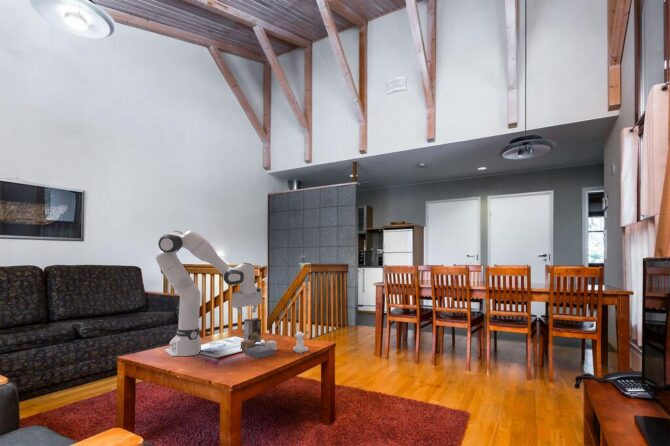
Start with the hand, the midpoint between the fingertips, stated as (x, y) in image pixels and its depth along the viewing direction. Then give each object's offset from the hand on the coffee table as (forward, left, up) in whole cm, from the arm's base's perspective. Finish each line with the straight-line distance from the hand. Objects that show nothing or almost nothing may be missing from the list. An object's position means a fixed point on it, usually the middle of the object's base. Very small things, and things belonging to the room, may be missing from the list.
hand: (247, 313), depth 221 cm
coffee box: (-11, +13, -23) cm, 29 cm away
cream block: (+7, +13, -23) cm, 27 cm away
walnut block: (-1, +2, -23) cm, 23 cm away
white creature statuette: (+23, +22, -23) cm, 39 cm away
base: (+10, +2, -23) cm, 25 cm away
